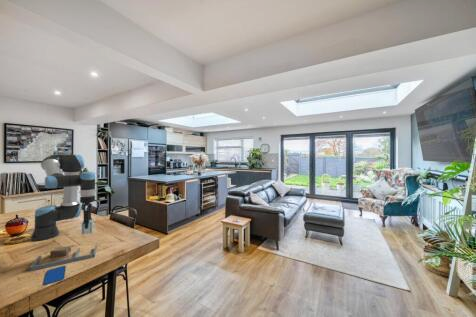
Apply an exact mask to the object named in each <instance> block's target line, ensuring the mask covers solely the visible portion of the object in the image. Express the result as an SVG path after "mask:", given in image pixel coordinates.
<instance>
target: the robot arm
mask: <svg viewBox="0 0 476 317" xmlns="http://www.w3.org/2000/svg"><path fill="white" fill-rule="evenodd" d="M40 166H41V168H42V170H44V172H45V174H46V176H45V177H44V187H45V188H46V189H59V188H60V189H61V188H63V193H62V194H63V197H62V202H61V203H60V204H59V206H57V204H50V205H45V206H42V207H39V208H37V209H36V210H34V228H33V232H32V234H31V236H30V241H32V242H39V241H45V240H49V239H53V238H55V237H57V236H59V235H60V230H59V229H58V227H57V226H58V225H57V222H60V221H66V220H71V219H78V218H79V216H81V213H82V212H83V221H84V222H83V221H82V222H83V223H81V225H82V224H84V234H83V235H87V233H89V227H90V223H89V220H93V218H92V206H93V204H92V203H94V202H95V201H96V173H95V172H94V171H84V172H83V171H82V170H83V169H84V168H85V161H84V158H83V156H82V155H81V154H59V153H57V154H51V155H48V156H46V157H45V158H43V159H42V161H41V162H40ZM63 173H64V174H63ZM79 173H80V174H79ZM78 187H80V188H78ZM78 190H80V191H79V192H78ZM78 193H79V194H80V195H79V196H80V197H79V200H78ZM82 204H83V206H82ZM82 209H83V211H82ZM89 234H90V233H89Z"/></svg>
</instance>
